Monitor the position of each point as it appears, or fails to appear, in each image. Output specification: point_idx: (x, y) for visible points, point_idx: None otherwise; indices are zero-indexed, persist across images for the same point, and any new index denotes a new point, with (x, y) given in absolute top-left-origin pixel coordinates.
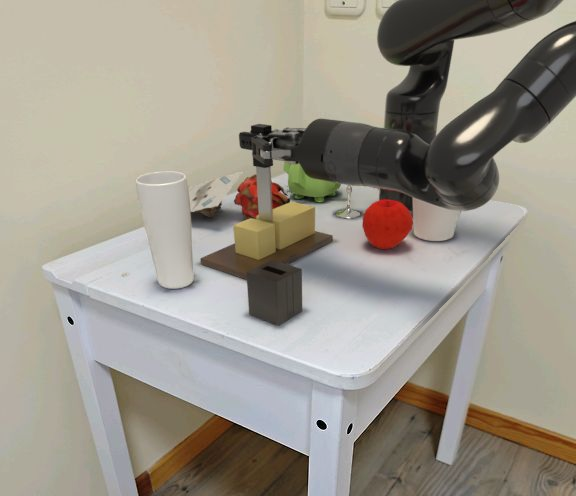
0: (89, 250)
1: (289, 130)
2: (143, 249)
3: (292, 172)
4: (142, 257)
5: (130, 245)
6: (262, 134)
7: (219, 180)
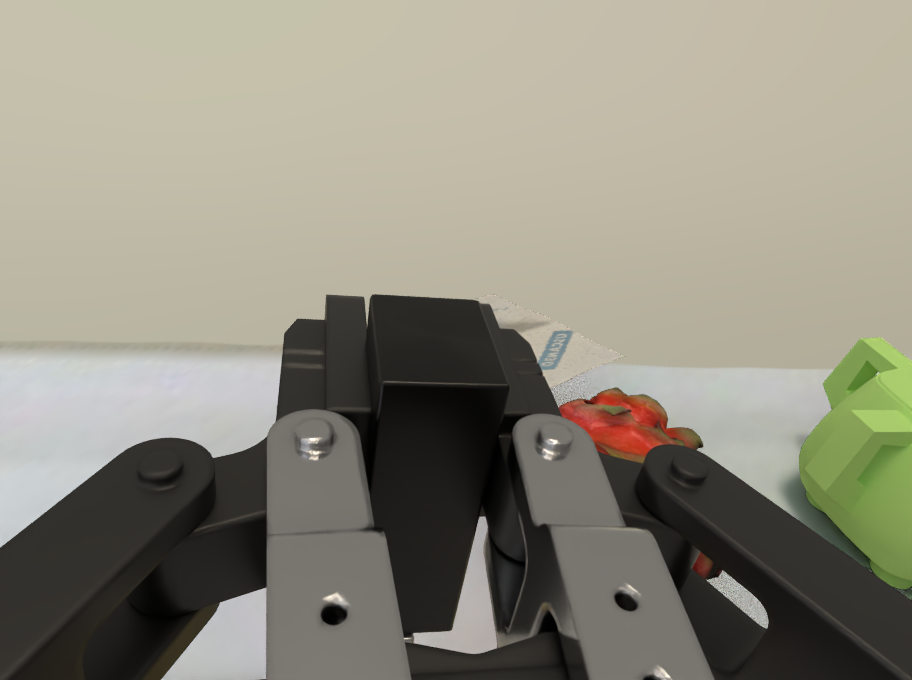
0: (36, 365)
1: (573, 620)
2: (115, 454)
3: (835, 428)
4: (43, 494)
5: (127, 411)
6: (335, 442)
7: (545, 338)
